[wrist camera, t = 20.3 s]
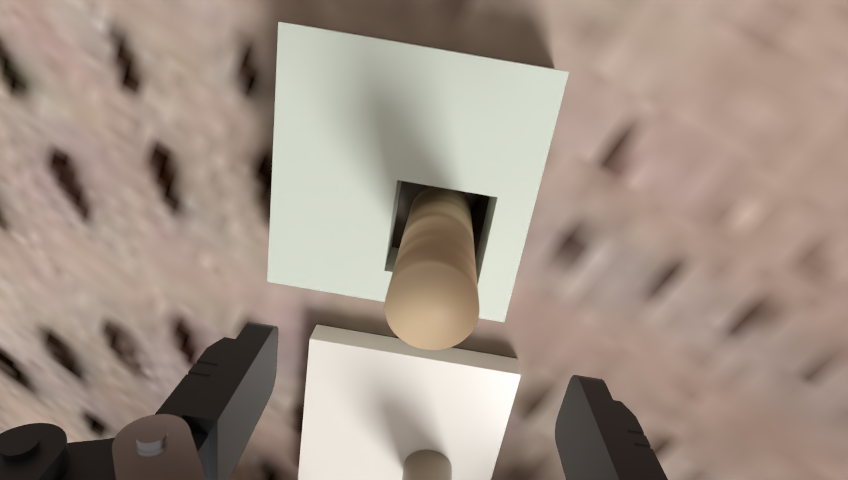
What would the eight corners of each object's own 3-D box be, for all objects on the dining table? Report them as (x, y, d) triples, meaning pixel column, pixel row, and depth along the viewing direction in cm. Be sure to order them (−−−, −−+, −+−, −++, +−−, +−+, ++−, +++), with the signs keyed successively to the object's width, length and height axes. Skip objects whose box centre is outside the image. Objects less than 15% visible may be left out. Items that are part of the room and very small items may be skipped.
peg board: (286, 257, 27) (267, 281, 24) (300, 24, 23) (278, 21, 20) (499, 293, 27) (503, 322, 24) (554, 68, 23) (568, 72, 20)
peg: (406, 237, 26) (378, 341, 17) (415, 180, 25) (390, 259, 16) (464, 247, 26) (469, 357, 17) (476, 190, 25) (488, 275, 16)
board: (303, 473, 33) (263, 587, 26) (316, 324, 29) (272, 414, 22) (477, 503, 33) (483, 625, 26) (517, 358, 29) (537, 459, 22)
